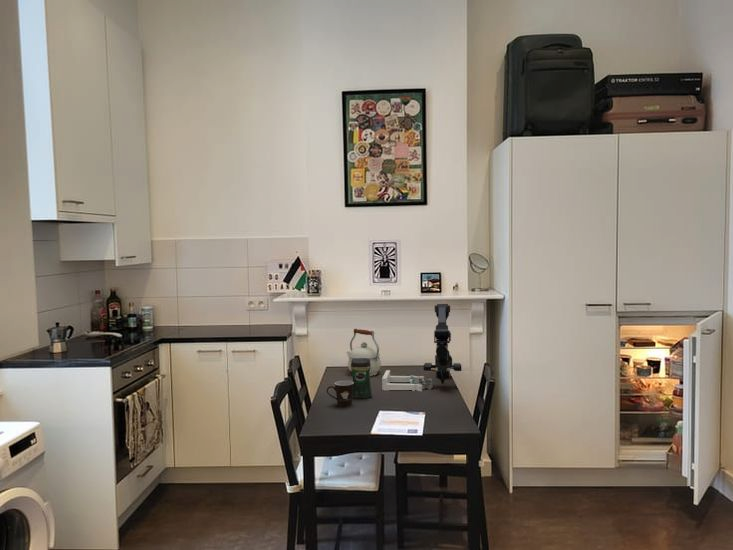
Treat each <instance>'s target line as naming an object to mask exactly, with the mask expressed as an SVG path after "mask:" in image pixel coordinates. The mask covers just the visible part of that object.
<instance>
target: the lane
mask: <svg viewBox="0 0 733 550" xmlns="http://www.w3.org/2000/svg"><path fill="white" fill-rule="evenodd" d="M410 376H411V375H409V376H407V375H391V370H390V369H386V370H385V372H384V375H383V376H382V378H381V384H382V385H381V388H382V391H389V390H412V391H411V392H423V390H422V384H421V385H419V384H417V380H418V379H417V377H418V378H421V379H422V381H423V380H424V379H425V376H424V375H421V376H416V375H414V384H410V383H390V382H410ZM415 390H417V391H415Z"/></svg>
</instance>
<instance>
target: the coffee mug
mask: <svg viewBox="0 0 733 550" xmlns="http://www.w3.org/2000/svg"><path fill="white" fill-rule="evenodd" d="M353 385H354V382H352V380H339V381H335V382H334V386H332V385H330V386H328V387H327V388H326V393H327V394H328V395H329V397H331V398H333V399H335V401H336V402H337V406H338V407H340V406H342V407H341V408H344V407H343V406H348V407H351V406H352V405H353ZM330 388H331V389H333V390H334V391H335V395H336V396H333V395H332V394H330V392H329V389H330ZM350 405H351V406H350Z"/></svg>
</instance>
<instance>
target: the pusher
mask: <svg viewBox="0 0 733 550" xmlns="http://www.w3.org/2000/svg"><path fill="white" fill-rule="evenodd" d="M409 376H410V383H409V384H415V383H414V376H415V374H410V375H409Z"/></svg>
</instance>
